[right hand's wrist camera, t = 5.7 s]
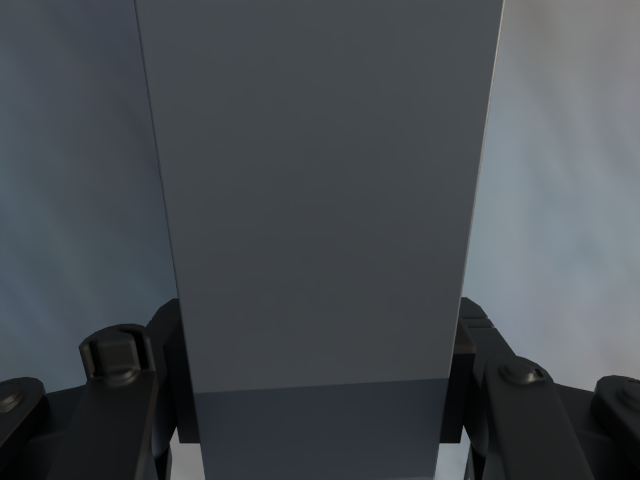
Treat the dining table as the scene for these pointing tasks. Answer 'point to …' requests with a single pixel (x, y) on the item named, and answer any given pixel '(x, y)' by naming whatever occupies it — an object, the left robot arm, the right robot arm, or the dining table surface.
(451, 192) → the beam
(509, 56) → the dining table surface
